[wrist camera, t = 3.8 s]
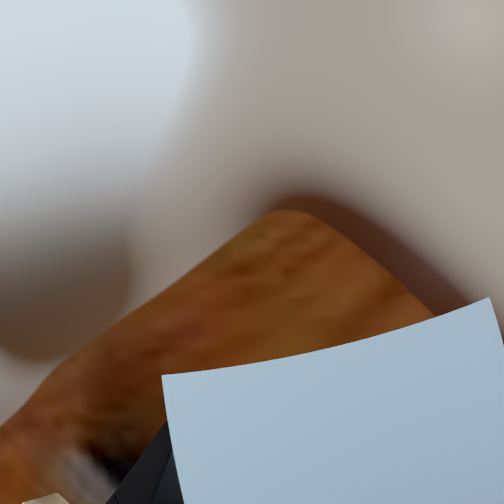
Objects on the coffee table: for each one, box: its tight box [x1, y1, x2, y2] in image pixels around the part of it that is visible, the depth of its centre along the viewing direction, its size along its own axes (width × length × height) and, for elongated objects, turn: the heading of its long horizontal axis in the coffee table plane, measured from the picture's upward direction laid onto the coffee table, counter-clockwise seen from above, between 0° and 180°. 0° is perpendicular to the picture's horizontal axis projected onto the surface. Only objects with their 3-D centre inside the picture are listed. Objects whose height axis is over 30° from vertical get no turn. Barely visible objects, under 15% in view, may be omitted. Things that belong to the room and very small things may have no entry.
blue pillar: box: [162, 297, 504, 504], centre depth 8 cm, size 5×5×13 cm
